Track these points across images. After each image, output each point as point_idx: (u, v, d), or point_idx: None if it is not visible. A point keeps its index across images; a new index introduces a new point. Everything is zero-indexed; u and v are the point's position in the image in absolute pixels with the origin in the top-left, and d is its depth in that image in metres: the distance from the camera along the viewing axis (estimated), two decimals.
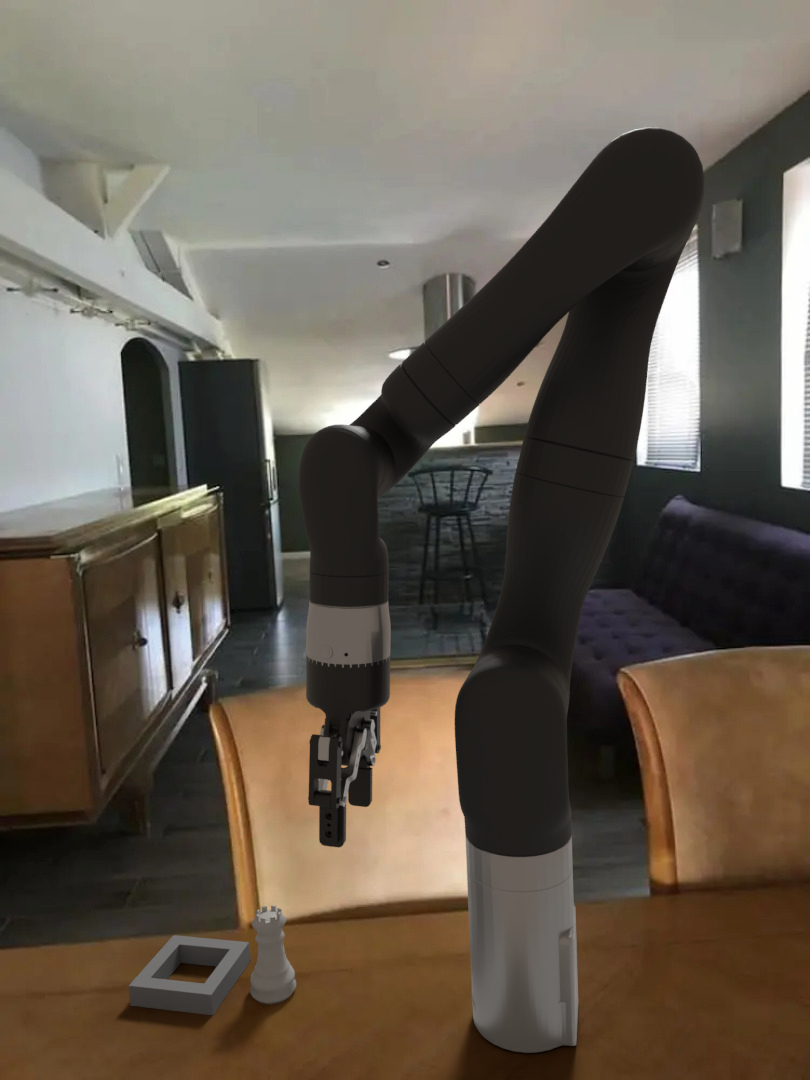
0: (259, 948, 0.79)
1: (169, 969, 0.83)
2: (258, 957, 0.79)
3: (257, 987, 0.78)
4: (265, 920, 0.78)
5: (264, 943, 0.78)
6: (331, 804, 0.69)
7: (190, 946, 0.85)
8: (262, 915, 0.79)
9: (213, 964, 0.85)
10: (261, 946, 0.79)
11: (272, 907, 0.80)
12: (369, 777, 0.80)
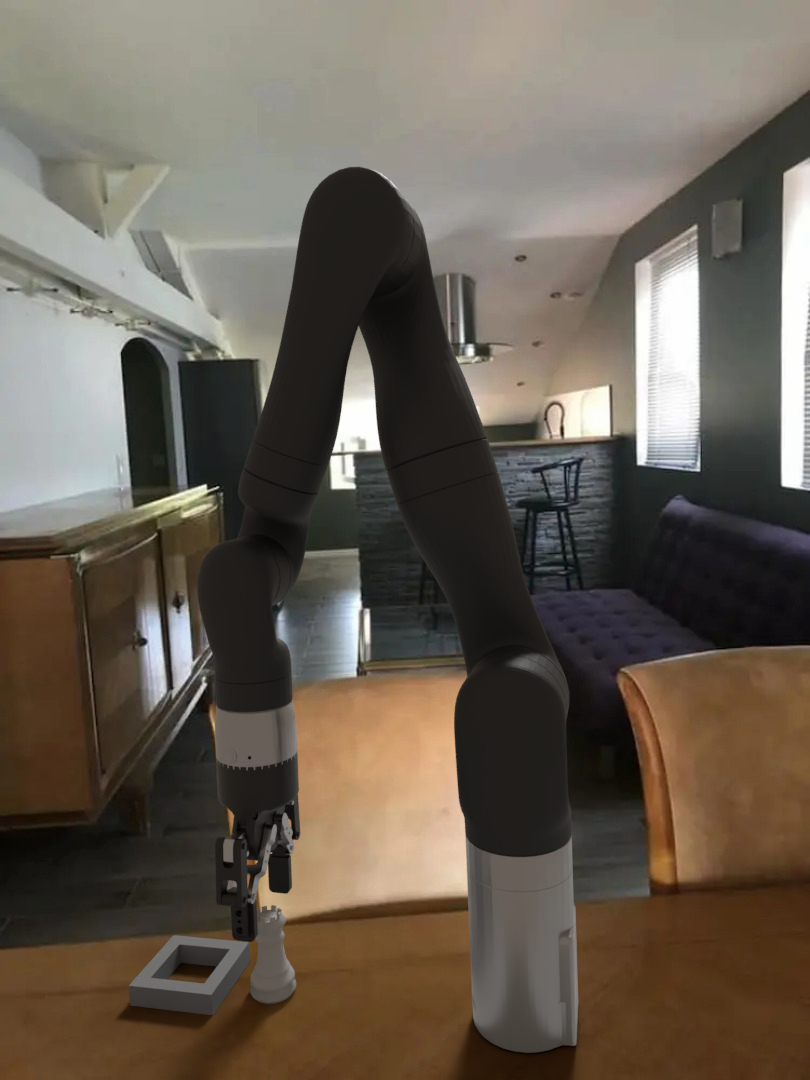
0: (259, 948, 0.79)
1: (169, 969, 0.83)
2: (258, 957, 0.79)
3: (257, 987, 0.78)
4: (265, 920, 0.78)
5: (264, 943, 0.78)
6: (237, 904, 0.72)
7: (190, 946, 0.85)
8: (262, 915, 0.79)
9: (213, 964, 0.85)
10: (261, 946, 0.79)
11: (272, 907, 0.80)
12: (287, 865, 0.83)
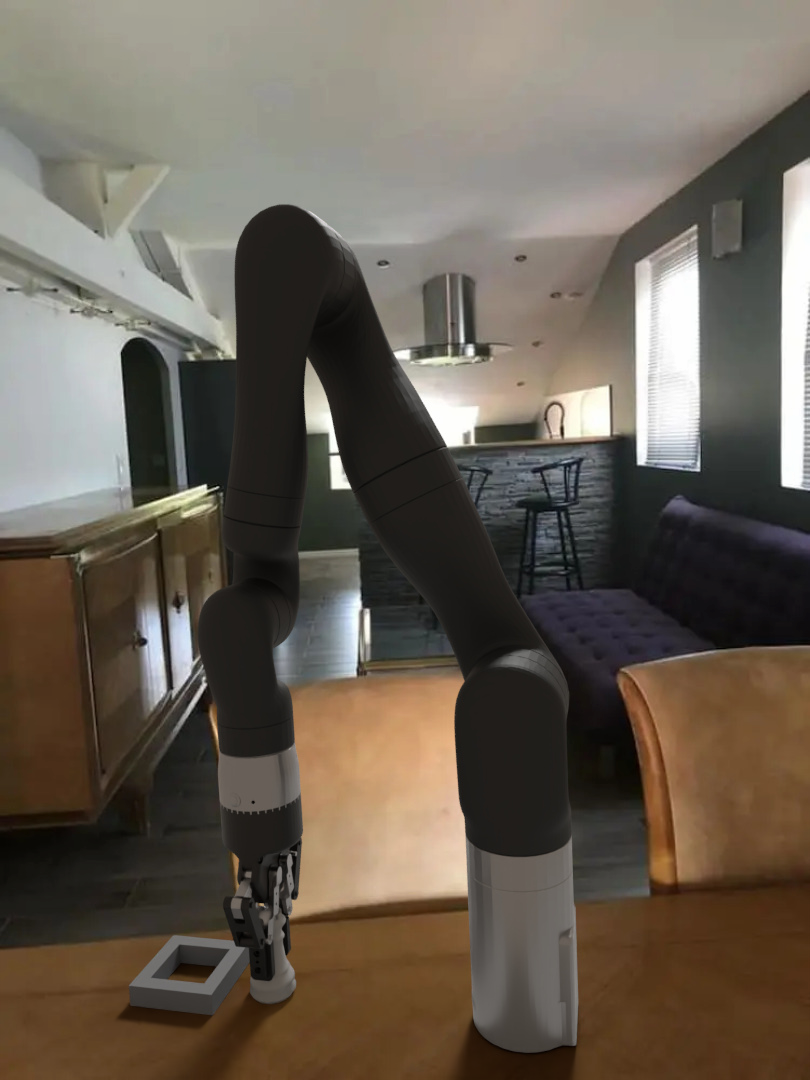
0: None
1: (169, 969, 0.83)
2: None
3: (257, 987, 0.78)
4: None
5: None
6: (256, 947, 0.75)
7: (190, 946, 0.85)
8: None
9: (213, 964, 0.85)
10: None
11: None
12: (286, 927, 0.81)
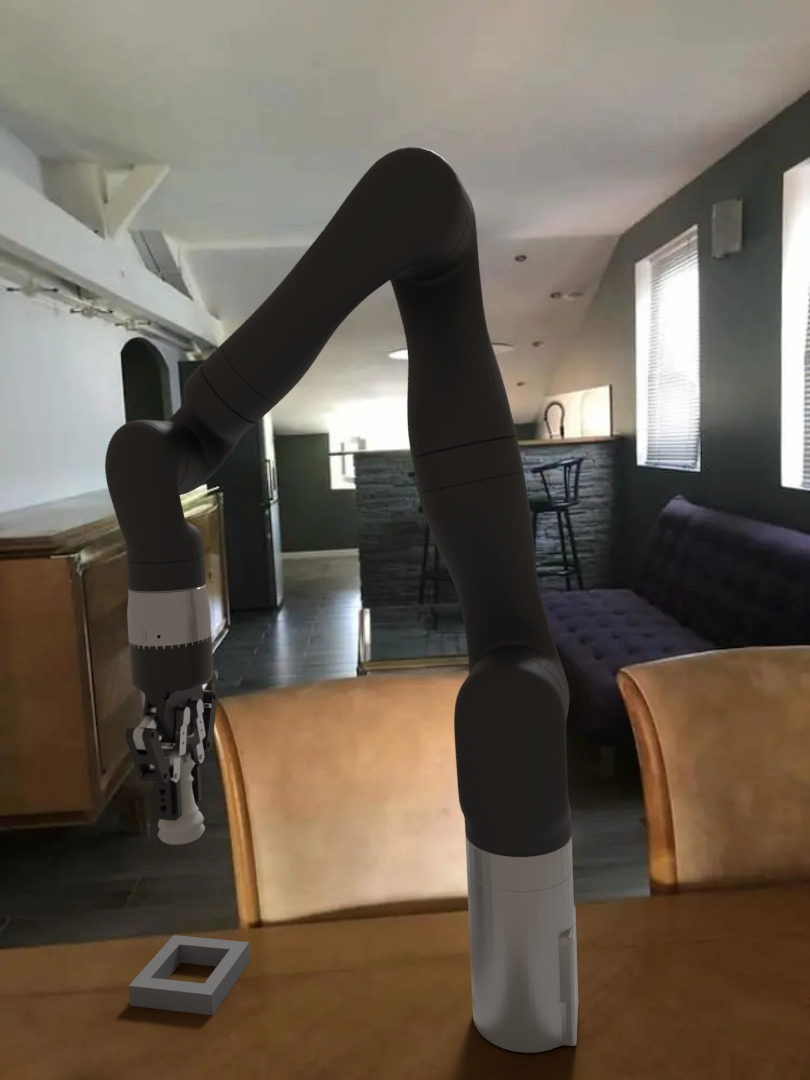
0: None
1: (169, 969, 0.83)
2: None
3: (163, 828, 0.79)
4: None
5: None
6: (159, 781, 0.75)
7: (190, 946, 0.85)
8: None
9: (213, 964, 0.85)
10: None
11: None
12: (196, 774, 0.81)
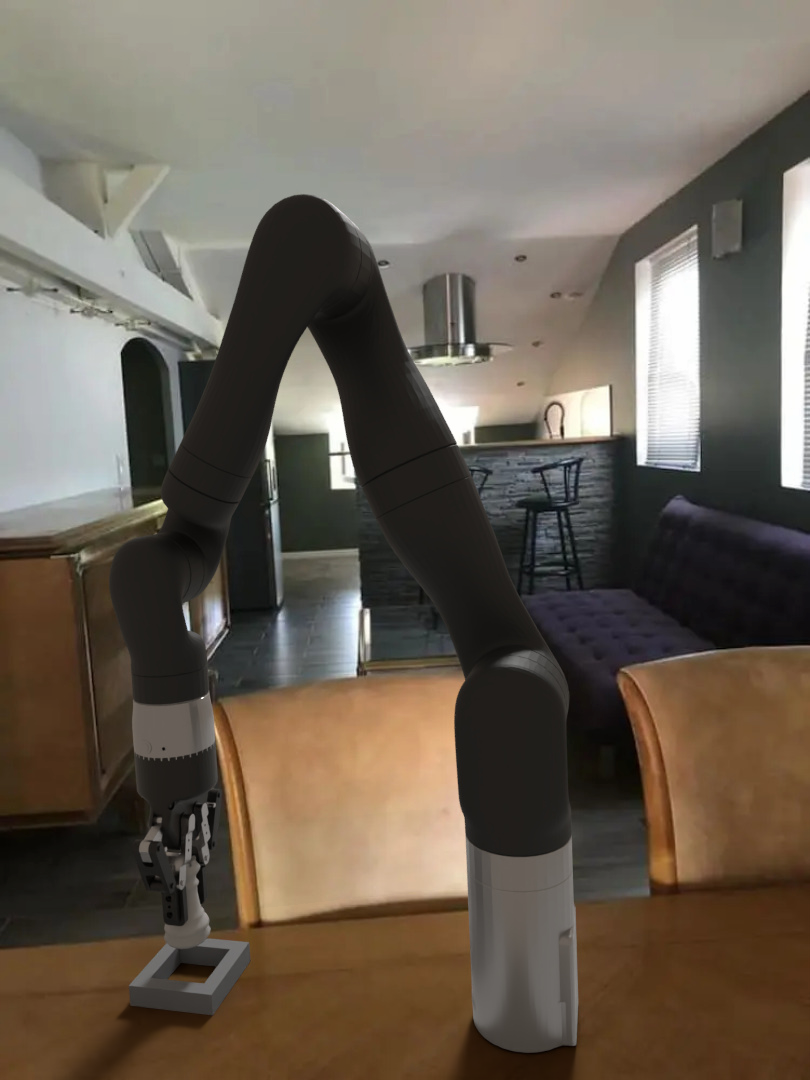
0: None
1: (169, 969, 0.83)
2: None
3: (170, 932, 0.80)
4: None
5: None
6: (166, 891, 0.76)
7: None
8: None
9: (213, 964, 0.85)
10: None
11: None
12: (201, 875, 0.82)
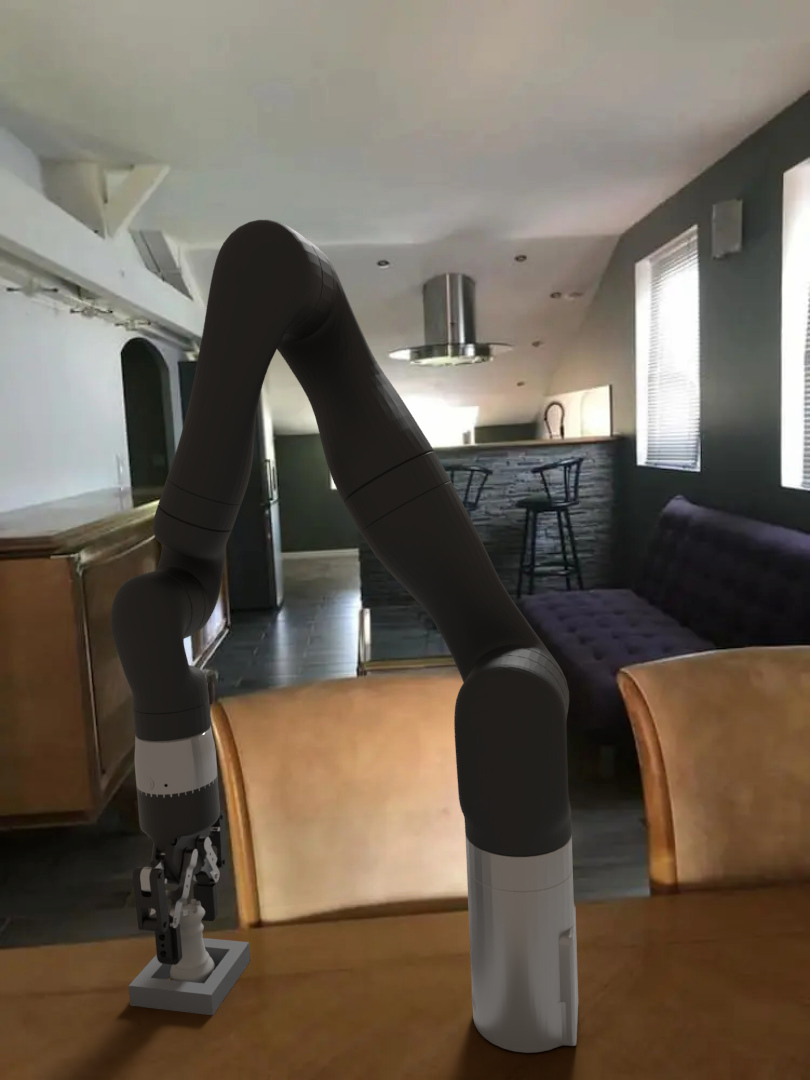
0: None
1: (169, 969, 0.83)
2: None
3: (175, 979, 0.80)
4: (183, 913, 0.80)
5: (182, 936, 0.80)
6: (158, 929, 0.75)
7: None
8: (181, 908, 0.81)
9: None
10: None
11: (192, 900, 0.82)
12: (212, 893, 0.84)
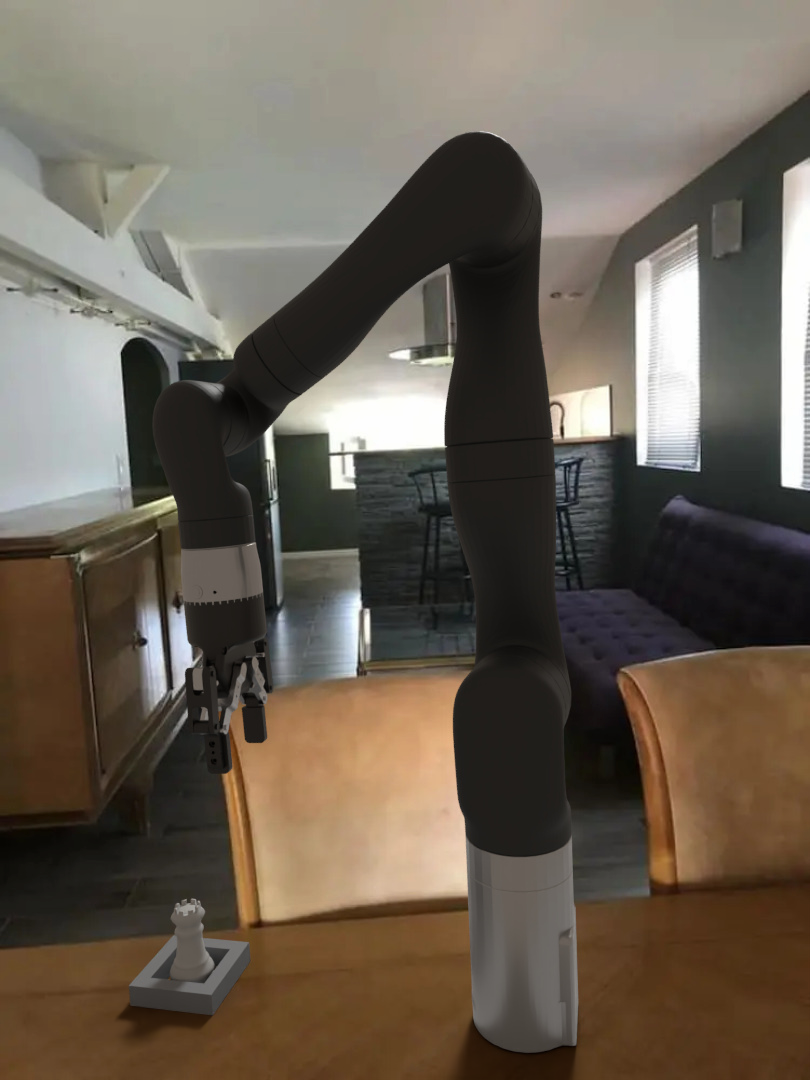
0: (178, 940, 0.81)
1: (169, 969, 0.83)
2: (177, 949, 0.81)
3: (175, 979, 0.80)
4: (183, 913, 0.80)
5: (182, 936, 0.80)
6: (209, 730, 0.74)
7: None
8: (181, 908, 0.81)
9: None
10: (180, 939, 0.80)
11: (192, 900, 0.82)
12: (261, 714, 0.85)
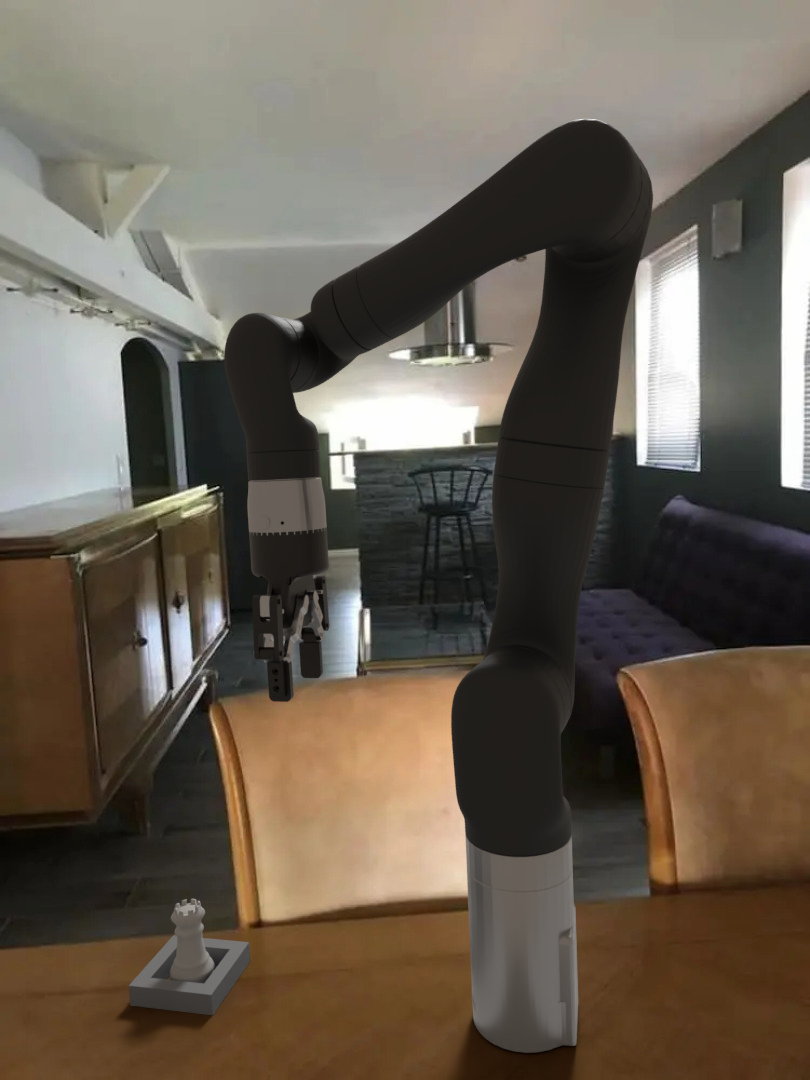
0: (178, 940, 0.81)
1: (169, 969, 0.83)
2: (177, 949, 0.81)
3: (175, 979, 0.80)
4: (183, 913, 0.80)
5: (182, 936, 0.80)
6: (274, 656, 0.75)
7: None
8: (181, 908, 0.81)
9: None
10: (180, 939, 0.80)
11: (192, 900, 0.82)
12: (318, 650, 0.86)
